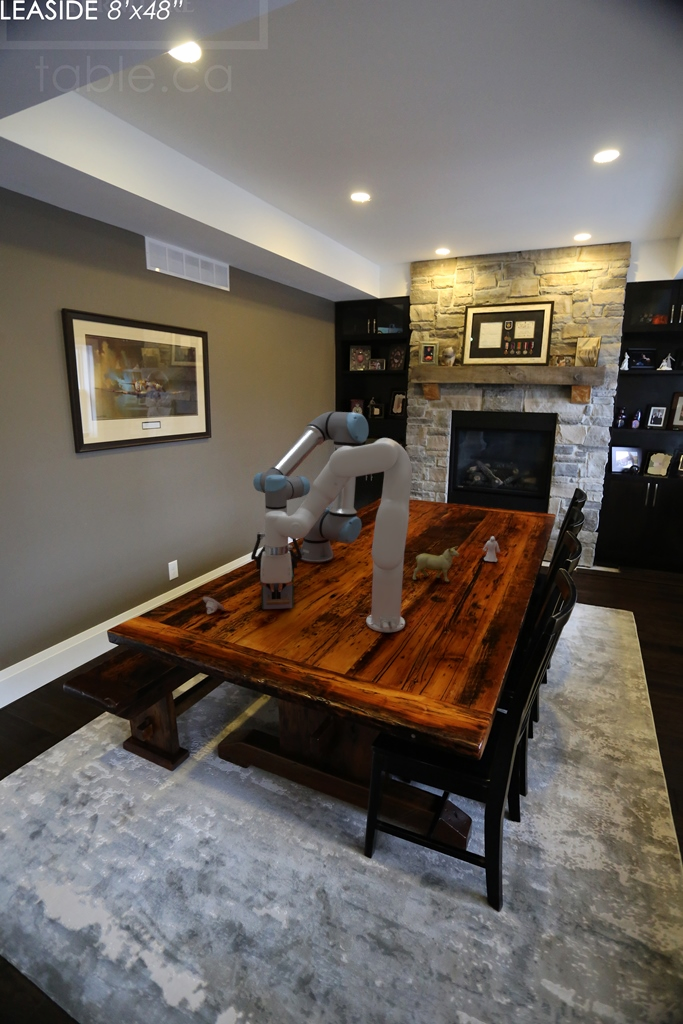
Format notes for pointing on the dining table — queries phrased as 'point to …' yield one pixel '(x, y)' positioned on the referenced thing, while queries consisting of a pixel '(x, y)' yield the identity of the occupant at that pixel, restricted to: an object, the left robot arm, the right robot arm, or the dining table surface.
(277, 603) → the drawer
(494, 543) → the figurine
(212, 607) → the seashell
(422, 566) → the toy
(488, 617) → the dining table surface
